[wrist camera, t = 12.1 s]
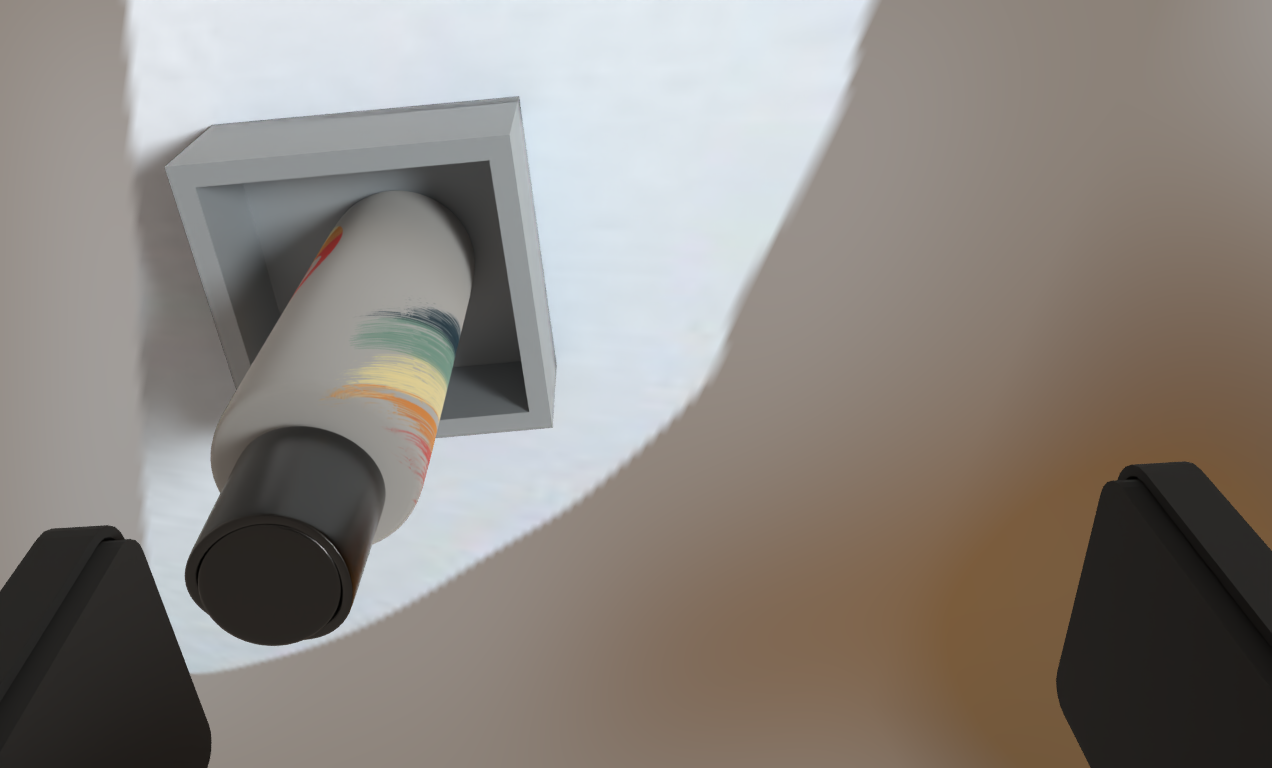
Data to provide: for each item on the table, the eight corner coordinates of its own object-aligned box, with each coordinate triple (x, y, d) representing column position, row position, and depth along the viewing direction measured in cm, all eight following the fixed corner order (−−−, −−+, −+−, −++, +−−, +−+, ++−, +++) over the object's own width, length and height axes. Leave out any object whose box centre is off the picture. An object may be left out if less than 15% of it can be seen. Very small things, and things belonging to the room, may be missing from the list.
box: (212, 125, 39) (164, 166, 34) (519, 96, 39) (509, 134, 34) (290, 389, 44) (257, 454, 40) (556, 365, 44) (552, 427, 40)
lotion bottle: (317, 293, 41) (118, 654, 24) (351, 165, 39) (156, 465, 21) (453, 337, 43) (358, 710, 25) (495, 215, 40) (421, 538, 23)
